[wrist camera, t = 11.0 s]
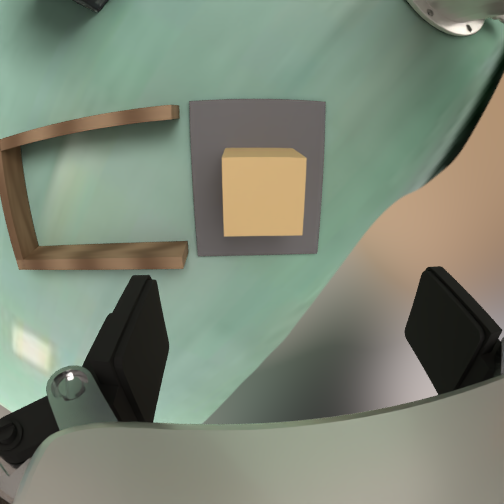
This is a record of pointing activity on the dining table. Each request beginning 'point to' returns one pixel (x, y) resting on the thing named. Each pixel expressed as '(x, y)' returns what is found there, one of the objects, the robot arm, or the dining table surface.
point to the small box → (92, 4)
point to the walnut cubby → (87, 255)
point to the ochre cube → (263, 191)
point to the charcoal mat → (254, 136)
